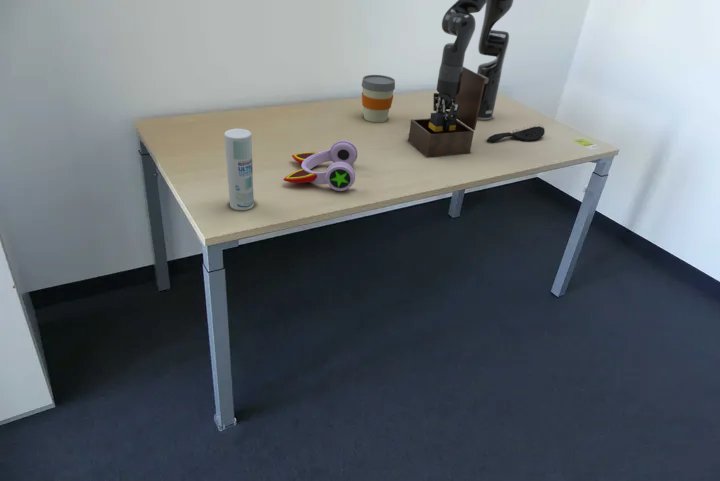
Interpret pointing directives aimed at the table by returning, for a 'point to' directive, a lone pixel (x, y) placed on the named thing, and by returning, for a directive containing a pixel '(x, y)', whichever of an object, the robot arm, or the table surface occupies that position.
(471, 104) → the case lid
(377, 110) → the reusable coffee cup
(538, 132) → the hairbrush
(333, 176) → the headphones
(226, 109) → the table surface
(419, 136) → the case
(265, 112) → the table surface
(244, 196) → the spray can
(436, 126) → the duster
